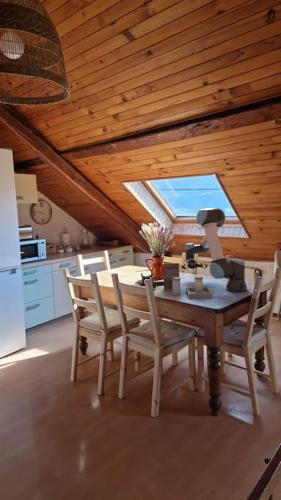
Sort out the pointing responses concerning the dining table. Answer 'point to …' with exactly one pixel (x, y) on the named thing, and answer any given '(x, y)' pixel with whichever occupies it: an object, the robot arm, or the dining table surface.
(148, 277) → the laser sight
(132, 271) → the dining table surface
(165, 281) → the panel
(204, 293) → the tray
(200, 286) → the sage canister
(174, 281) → the gray canister
